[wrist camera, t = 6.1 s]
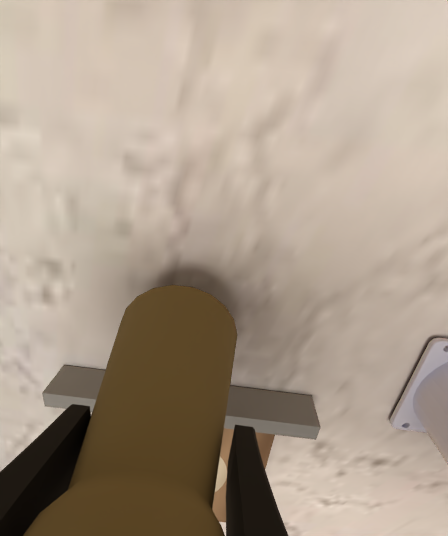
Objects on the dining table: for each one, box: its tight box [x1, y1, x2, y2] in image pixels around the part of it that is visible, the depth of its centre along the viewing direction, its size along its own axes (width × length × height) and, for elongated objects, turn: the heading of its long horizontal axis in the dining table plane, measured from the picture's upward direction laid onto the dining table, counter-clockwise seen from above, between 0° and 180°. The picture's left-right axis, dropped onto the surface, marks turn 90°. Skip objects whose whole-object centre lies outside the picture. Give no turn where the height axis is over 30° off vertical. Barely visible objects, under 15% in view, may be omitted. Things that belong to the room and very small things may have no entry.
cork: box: [23, 285, 237, 536], centre depth 10 cm, size 6×6×11 cm
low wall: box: [42, 365, 320, 440], centre depth 20 cm, size 18×1×2 cm, turn 83°
